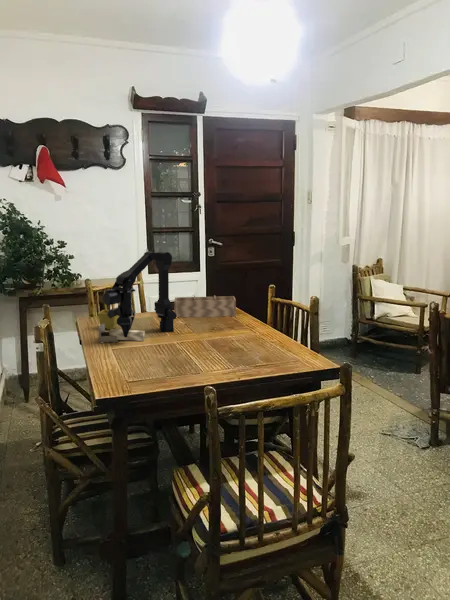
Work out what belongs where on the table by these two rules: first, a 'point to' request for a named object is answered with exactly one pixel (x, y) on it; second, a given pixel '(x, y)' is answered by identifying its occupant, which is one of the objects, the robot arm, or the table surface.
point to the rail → (131, 335)
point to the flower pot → (107, 319)
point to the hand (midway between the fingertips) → (127, 334)
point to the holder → (205, 306)
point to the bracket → (105, 335)
